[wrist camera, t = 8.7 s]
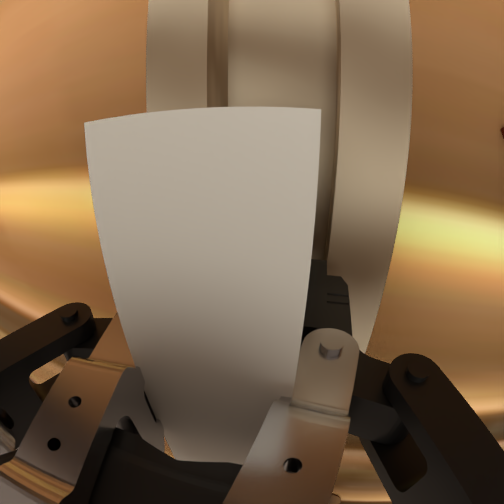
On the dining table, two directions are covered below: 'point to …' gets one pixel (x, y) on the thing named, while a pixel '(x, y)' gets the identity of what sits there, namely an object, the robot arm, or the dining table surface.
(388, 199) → the picture ledge
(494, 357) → the dining table surface
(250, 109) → the tapered grey panel
